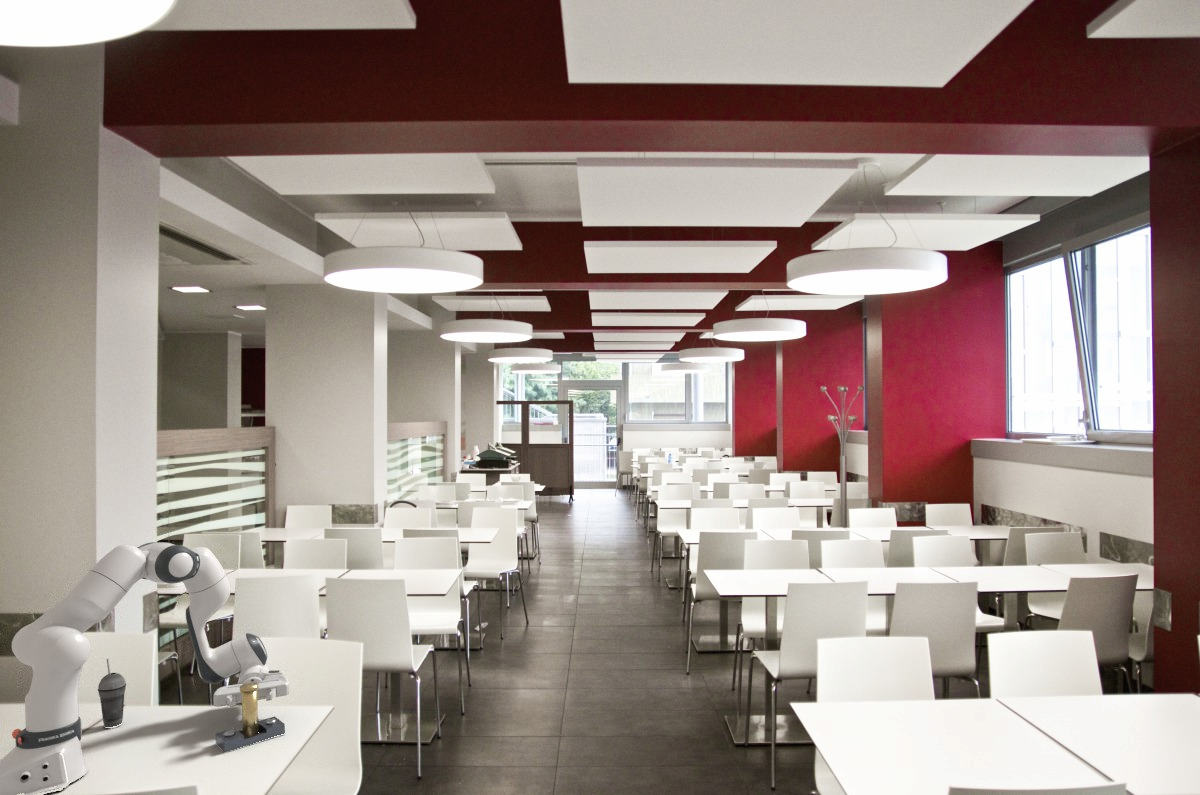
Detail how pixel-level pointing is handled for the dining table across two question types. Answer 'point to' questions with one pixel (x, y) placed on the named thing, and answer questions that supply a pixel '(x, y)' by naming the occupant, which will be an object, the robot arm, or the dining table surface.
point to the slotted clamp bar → (236, 739)
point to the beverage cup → (112, 698)
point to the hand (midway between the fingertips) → (250, 700)
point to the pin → (249, 709)
